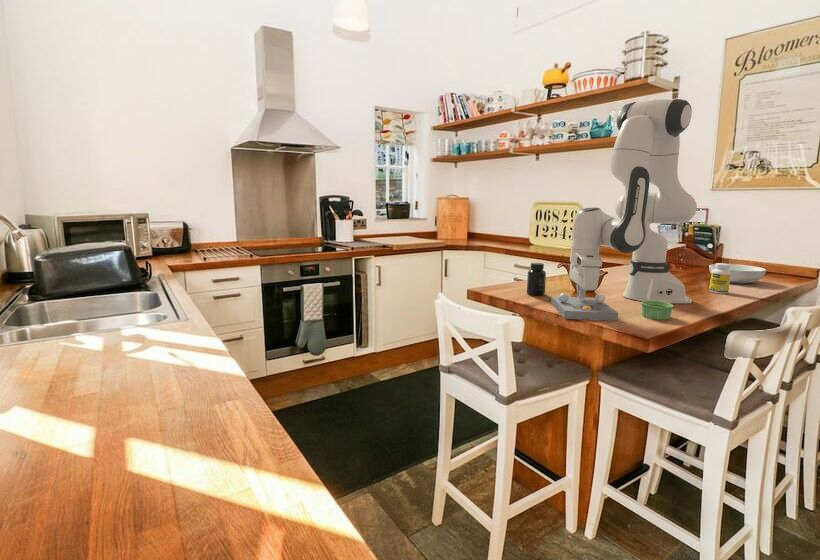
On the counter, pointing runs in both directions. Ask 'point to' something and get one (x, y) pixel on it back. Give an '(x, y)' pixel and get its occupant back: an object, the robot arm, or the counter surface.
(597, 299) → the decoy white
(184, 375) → the counter surface
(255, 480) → the counter surface
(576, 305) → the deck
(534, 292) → the supplement bottle
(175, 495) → the counter surface
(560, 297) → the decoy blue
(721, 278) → the pill bottle
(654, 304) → the ramekin
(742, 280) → the serving bowl
